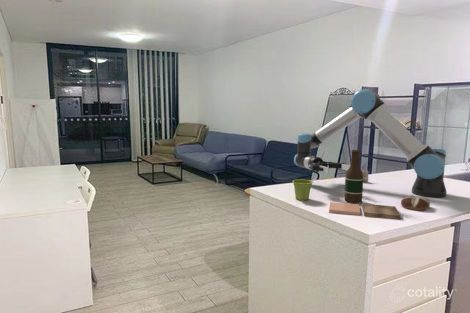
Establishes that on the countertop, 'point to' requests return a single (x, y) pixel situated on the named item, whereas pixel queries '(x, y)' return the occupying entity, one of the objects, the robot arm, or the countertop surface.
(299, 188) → the plant pot
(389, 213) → the walnut board
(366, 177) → the architectural model
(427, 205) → the bread
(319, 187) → the countertop surface
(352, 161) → the beer bottle
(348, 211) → the terracotta tile
